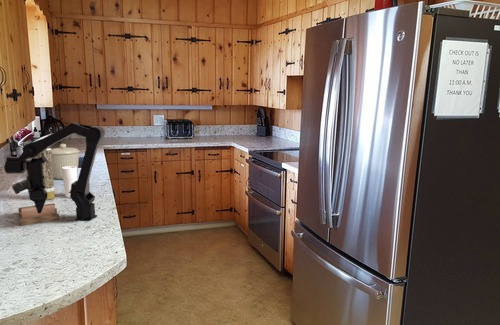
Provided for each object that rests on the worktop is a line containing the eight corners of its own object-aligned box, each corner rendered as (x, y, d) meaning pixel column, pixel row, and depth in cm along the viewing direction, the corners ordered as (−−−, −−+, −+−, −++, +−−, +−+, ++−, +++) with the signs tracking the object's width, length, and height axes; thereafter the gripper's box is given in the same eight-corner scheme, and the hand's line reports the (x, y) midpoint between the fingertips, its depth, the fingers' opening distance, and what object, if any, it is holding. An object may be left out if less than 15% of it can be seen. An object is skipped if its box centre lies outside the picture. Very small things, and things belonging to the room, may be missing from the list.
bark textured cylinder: (51, 196, 195) (47, 147, 191) (57, 198, 191) (53, 148, 186) (36, 198, 190) (32, 148, 185) (43, 201, 186) (38, 150, 181)
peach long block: (54, 213, 164) (53, 204, 164) (55, 216, 161) (54, 207, 160) (22, 218, 158) (21, 208, 158) (22, 220, 155) (21, 211, 154)
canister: (73, 181, 227) (70, 146, 223) (42, 180, 227) (39, 145, 223) (86, 175, 245) (84, 142, 241) (58, 174, 245) (55, 141, 241)
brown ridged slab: (54, 208, 175) (54, 203, 174) (59, 220, 159) (59, 214, 159) (18, 213, 167) (18, 207, 167) (20, 225, 152) (19, 219, 152)
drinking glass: (62, 198, 191) (60, 168, 188) (65, 195, 197) (63, 166, 195) (77, 197, 193) (75, 168, 190) (79, 194, 199) (77, 165, 196)
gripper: (11, 171, 160) (15, 207, 163) (12, 179, 144) (16, 219, 147) (42, 168, 166) (45, 203, 169) (45, 176, 150) (49, 215, 153)
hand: (38, 210), depth 159 cm, fingers open, 9 cm apart
